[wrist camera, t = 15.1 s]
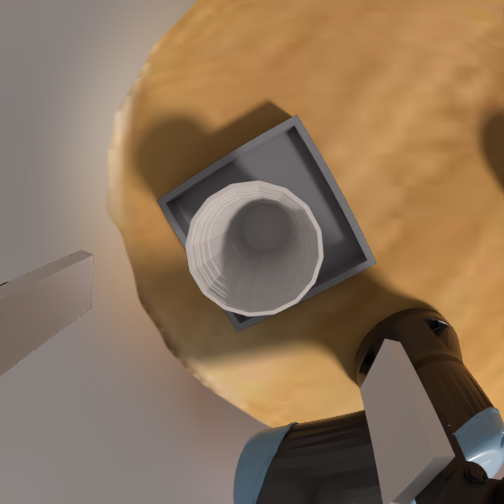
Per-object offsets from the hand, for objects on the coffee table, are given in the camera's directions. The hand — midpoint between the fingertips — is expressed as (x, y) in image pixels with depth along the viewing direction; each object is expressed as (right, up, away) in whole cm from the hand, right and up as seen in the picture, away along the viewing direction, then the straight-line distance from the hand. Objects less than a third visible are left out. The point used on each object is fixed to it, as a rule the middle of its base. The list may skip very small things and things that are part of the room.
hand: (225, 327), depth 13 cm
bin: (+3, +6, +24) cm, 25 cm away
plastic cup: (+3, +6, +23) cm, 24 cm away
